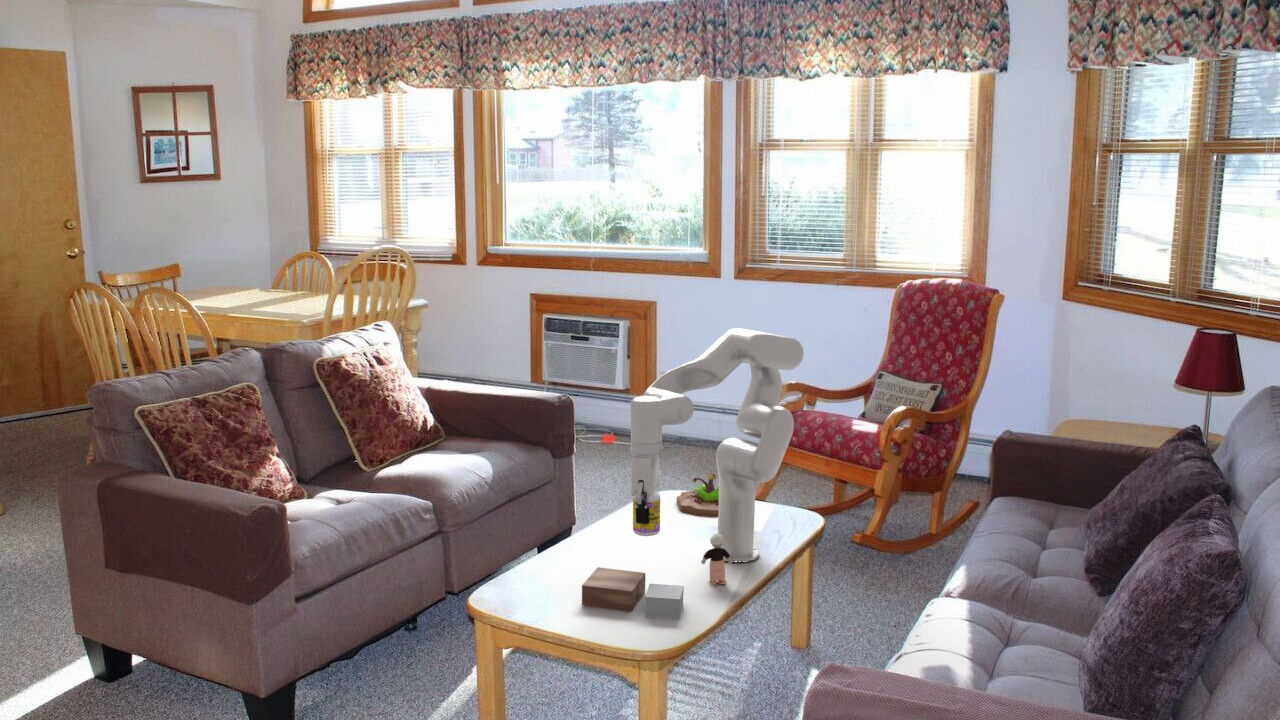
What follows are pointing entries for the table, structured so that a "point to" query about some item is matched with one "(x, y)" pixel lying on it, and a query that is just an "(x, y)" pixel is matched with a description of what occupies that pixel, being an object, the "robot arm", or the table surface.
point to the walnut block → (613, 589)
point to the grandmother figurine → (717, 560)
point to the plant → (700, 499)
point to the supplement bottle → (654, 516)
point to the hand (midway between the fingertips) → (646, 517)
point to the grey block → (664, 601)
